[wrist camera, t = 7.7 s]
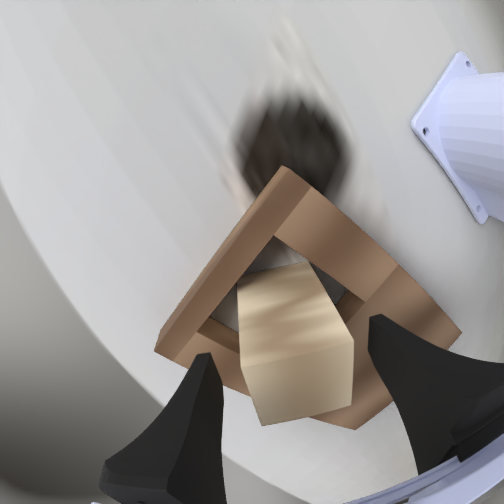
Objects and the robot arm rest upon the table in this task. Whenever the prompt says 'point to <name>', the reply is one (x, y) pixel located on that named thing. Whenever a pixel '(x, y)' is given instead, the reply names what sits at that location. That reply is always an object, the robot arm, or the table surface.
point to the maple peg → (292, 345)
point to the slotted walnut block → (327, 259)
